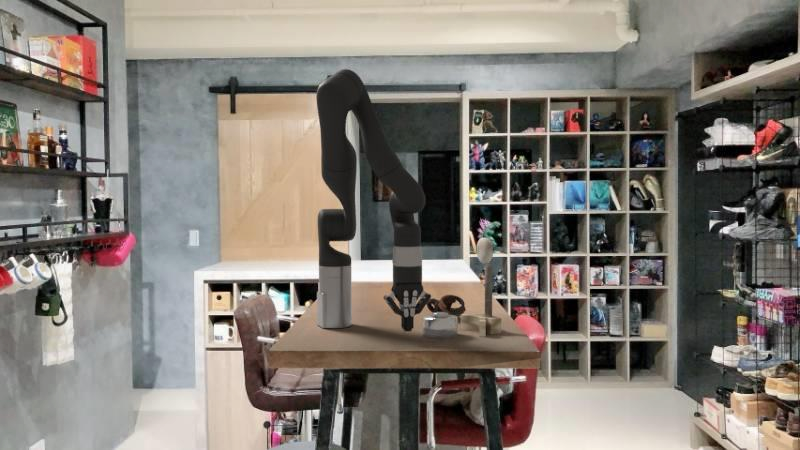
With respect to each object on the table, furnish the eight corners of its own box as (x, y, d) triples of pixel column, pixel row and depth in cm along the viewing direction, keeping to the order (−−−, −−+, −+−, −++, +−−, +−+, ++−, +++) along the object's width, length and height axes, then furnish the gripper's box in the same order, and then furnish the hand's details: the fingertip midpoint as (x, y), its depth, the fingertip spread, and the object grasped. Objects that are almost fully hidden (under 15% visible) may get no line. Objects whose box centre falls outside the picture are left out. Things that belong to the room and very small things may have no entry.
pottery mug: (464, 317, 198) (469, 296, 193) (458, 336, 190) (464, 315, 185) (427, 306, 200) (431, 285, 195) (419, 325, 192) (424, 303, 187)
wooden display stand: (480, 336, 166) (481, 239, 165) (459, 328, 177) (459, 236, 177) (505, 334, 169) (505, 238, 168) (482, 326, 180) (482, 236, 179)
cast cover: (432, 340, 163) (432, 317, 163) (417, 333, 171) (417, 311, 171) (463, 337, 166) (463, 314, 166) (448, 331, 175) (448, 309, 174)
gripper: (388, 266, 158) (389, 335, 159) (437, 264, 163) (437, 331, 164) (378, 263, 165) (378, 330, 166) (424, 261, 170) (424, 326, 171)
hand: (407, 330), depth 165 cm, fingers closed
